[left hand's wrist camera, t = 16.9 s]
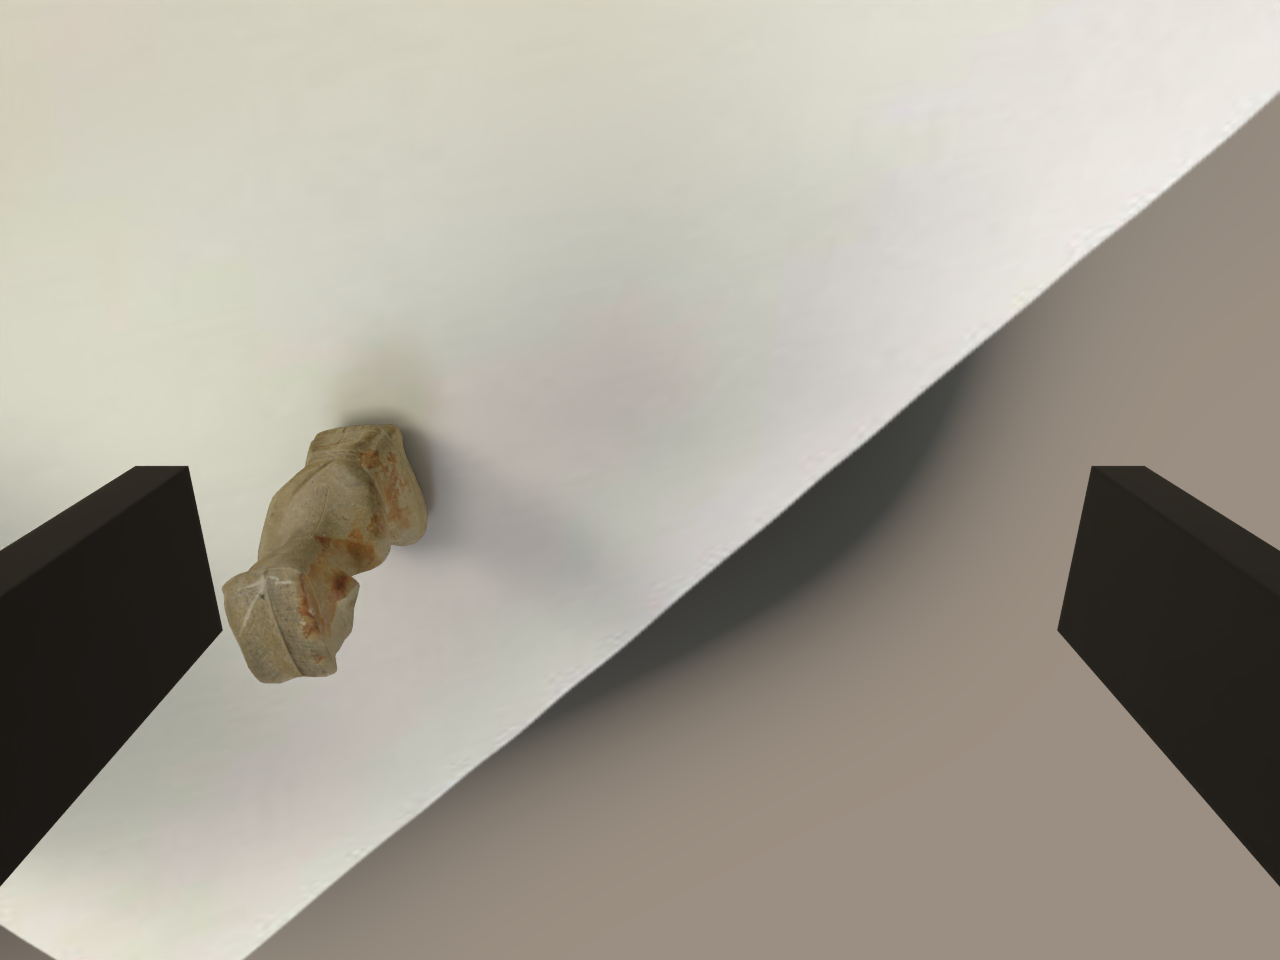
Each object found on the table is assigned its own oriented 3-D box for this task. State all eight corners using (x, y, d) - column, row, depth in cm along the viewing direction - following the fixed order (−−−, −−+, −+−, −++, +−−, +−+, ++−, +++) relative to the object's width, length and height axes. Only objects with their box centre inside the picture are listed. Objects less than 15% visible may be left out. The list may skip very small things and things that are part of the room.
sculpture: (342, 538, 47) (216, 703, 33) (313, 414, 44) (163, 536, 30) (446, 530, 47) (363, 693, 33) (423, 405, 44) (322, 524, 30)
